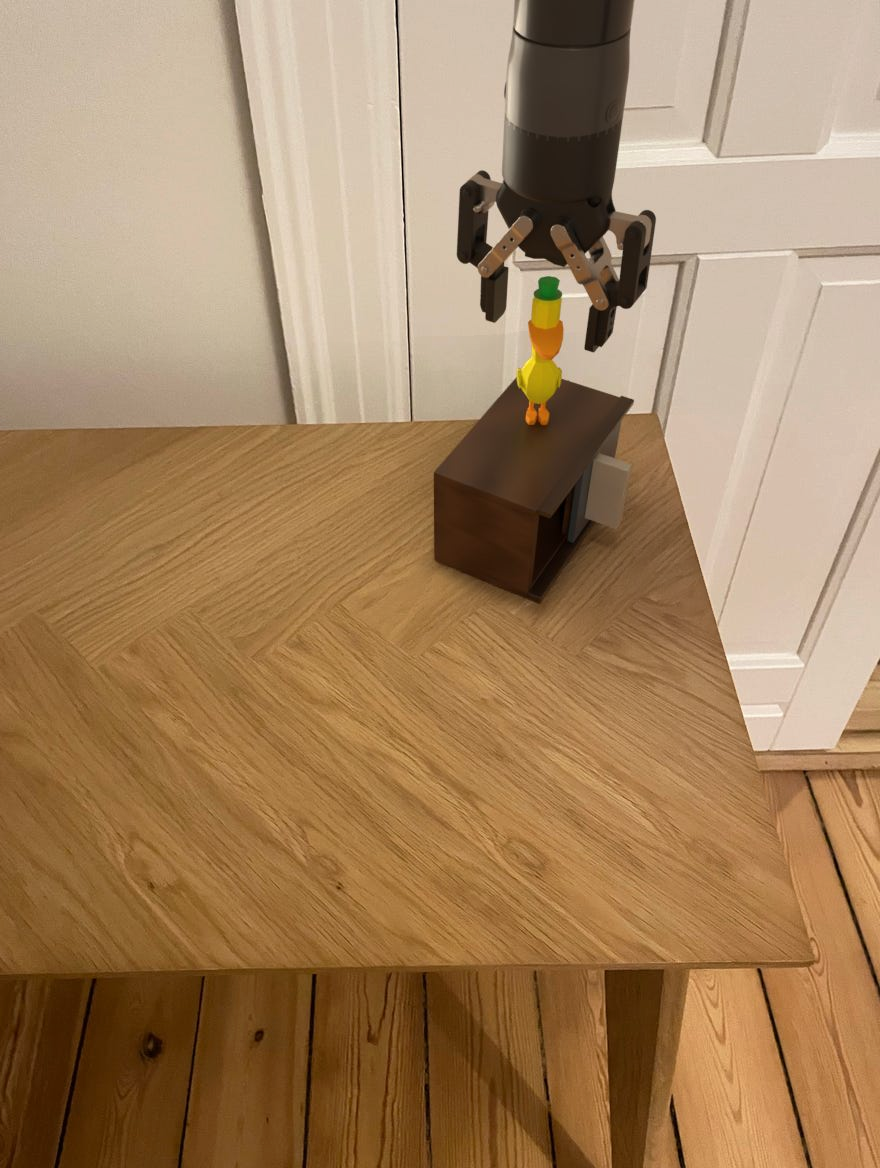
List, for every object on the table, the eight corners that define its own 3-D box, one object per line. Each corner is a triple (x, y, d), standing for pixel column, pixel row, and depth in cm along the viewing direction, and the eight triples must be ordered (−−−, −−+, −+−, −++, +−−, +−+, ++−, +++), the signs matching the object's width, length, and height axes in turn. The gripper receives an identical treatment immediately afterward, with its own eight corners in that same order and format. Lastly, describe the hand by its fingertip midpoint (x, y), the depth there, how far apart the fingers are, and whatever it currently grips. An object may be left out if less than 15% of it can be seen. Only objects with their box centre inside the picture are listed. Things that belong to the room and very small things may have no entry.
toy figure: (561, 444, 78) (578, 311, 69) (517, 445, 78) (527, 312, 69) (554, 393, 83) (569, 261, 73) (512, 394, 83) (521, 262, 73)
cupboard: (617, 491, 89) (634, 399, 81) (539, 604, 81) (550, 514, 73) (518, 455, 93) (525, 364, 85) (434, 560, 84) (433, 470, 77)
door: (640, 502, 87) (656, 427, 80) (605, 555, 83) (619, 480, 76) (603, 489, 88) (615, 413, 82) (566, 540, 84) (577, 465, 78)
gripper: (693, 104, 61) (650, 332, 74) (492, 64, 66) (484, 284, 79) (647, 152, 57) (610, 384, 70) (437, 106, 62) (438, 330, 75)
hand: (543, 331), depth 74 cm, fingers open, 8 cm apart
